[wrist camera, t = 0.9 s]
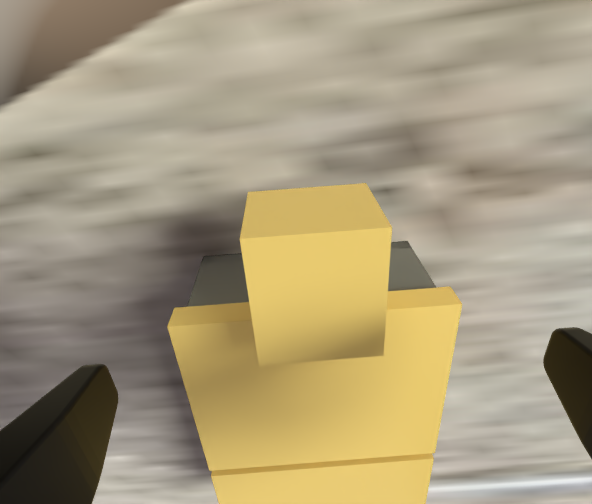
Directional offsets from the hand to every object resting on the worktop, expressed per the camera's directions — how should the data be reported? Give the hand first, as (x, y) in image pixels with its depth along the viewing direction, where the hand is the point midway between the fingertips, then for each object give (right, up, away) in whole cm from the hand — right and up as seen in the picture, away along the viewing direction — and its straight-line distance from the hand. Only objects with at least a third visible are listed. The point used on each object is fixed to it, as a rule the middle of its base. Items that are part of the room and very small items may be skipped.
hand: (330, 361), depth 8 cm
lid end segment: (0, -1, +7) cm, 7 cm away
